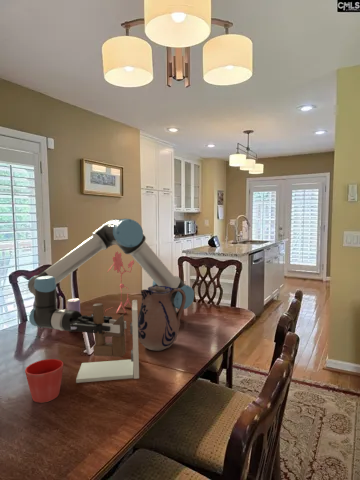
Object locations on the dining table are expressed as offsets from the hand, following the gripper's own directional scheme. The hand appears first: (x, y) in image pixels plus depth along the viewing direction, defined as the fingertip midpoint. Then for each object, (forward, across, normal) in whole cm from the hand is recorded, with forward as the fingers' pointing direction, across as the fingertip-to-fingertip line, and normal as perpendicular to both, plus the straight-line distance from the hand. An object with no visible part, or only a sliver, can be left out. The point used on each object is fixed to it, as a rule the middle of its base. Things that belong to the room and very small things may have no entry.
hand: (122, 327), depth 111 cm
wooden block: (-5, +1, -10) cm, 12 cm away
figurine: (-42, -67, -17) cm, 81 cm away
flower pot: (-17, +19, -18) cm, 31 cm away
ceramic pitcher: (+3, -27, -17) cm, 32 cm away
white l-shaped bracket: (-5, 0, -17) cm, 18 cm away
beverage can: (-46, -32, -17) cm, 58 cm away
